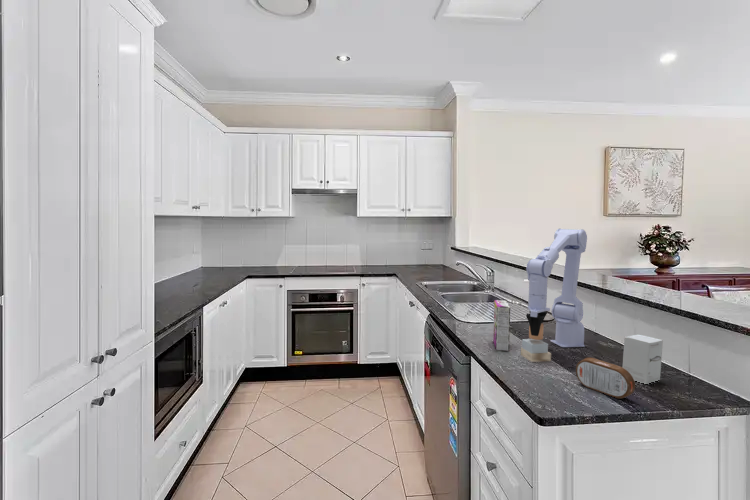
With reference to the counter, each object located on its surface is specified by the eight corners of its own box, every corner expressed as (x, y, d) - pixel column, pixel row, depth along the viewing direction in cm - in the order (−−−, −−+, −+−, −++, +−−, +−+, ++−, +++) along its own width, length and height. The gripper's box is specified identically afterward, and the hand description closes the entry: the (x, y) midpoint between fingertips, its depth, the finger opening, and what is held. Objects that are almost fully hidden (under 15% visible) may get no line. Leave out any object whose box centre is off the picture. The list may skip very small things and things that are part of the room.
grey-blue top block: (537, 346, 141) (537, 338, 141) (547, 352, 135) (548, 343, 135) (521, 347, 140) (522, 339, 140) (531, 353, 134) (531, 344, 134)
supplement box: (646, 386, 115) (649, 343, 114) (620, 376, 122) (623, 336, 121) (661, 381, 119) (664, 339, 118) (635, 373, 125) (637, 333, 124)
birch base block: (539, 355, 142) (539, 346, 141) (550, 362, 135) (551, 353, 135) (520, 355, 141) (521, 347, 140) (531, 362, 134) (531, 354, 133)
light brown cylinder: (538, 335, 140) (539, 321, 139) (545, 339, 135) (546, 325, 135) (526, 336, 139) (526, 321, 139) (533, 339, 135) (533, 325, 134)
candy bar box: (492, 341, 156) (493, 299, 154) (505, 342, 155) (507, 300, 153) (494, 350, 145) (496, 305, 144) (509, 351, 144) (511, 306, 143)
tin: (634, 401, 105) (636, 370, 105) (628, 404, 104) (630, 372, 103) (579, 381, 118) (580, 353, 117) (573, 383, 116) (574, 355, 116)
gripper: (547, 299, 128) (545, 340, 129) (553, 292, 140) (551, 330, 141) (524, 296, 131) (522, 337, 132) (531, 290, 144) (529, 327, 145)
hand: (535, 333), depth 137 cm, fingers closed on light brown cylinder, 4 cm apart
